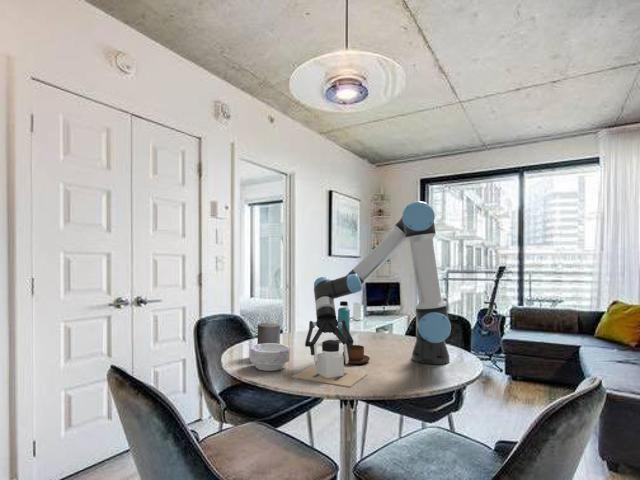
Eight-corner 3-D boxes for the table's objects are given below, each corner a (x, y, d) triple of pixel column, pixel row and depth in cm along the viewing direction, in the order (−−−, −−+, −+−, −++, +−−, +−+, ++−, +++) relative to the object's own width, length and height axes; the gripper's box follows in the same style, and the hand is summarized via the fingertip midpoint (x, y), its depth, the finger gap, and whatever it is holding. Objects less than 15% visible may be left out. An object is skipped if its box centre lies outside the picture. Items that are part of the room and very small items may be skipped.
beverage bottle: (349, 338, 207) (349, 300, 208) (350, 341, 201) (350, 302, 202) (336, 338, 207) (337, 300, 208) (337, 341, 201) (338, 301, 202)
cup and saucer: (359, 367, 152) (359, 351, 153) (334, 362, 160) (334, 347, 160) (375, 361, 162) (375, 346, 162) (351, 357, 169) (351, 342, 170)
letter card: (367, 374, 142) (367, 373, 142) (350, 387, 128) (350, 386, 128) (313, 366, 152) (313, 365, 152) (292, 377, 138) (292, 376, 138)
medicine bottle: (344, 376, 139) (344, 341, 140) (326, 378, 135) (327, 343, 136) (333, 371, 145) (333, 338, 146) (316, 373, 142) (317, 339, 142)
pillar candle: (252, 356, 168) (253, 321, 169) (271, 353, 174) (272, 318, 175) (265, 361, 161) (266, 323, 161) (284, 357, 167) (285, 321, 168)
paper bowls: (291, 373, 144) (291, 350, 144) (248, 374, 142) (249, 351, 142) (288, 362, 159) (288, 342, 159) (250, 363, 157) (250, 343, 157)
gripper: (352, 316, 158) (361, 367, 141) (295, 317, 155) (298, 368, 139) (355, 305, 153) (365, 355, 136) (297, 305, 150) (299, 357, 134)
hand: (331, 362), depth 137 cm, fingers open, 10 cm apart
